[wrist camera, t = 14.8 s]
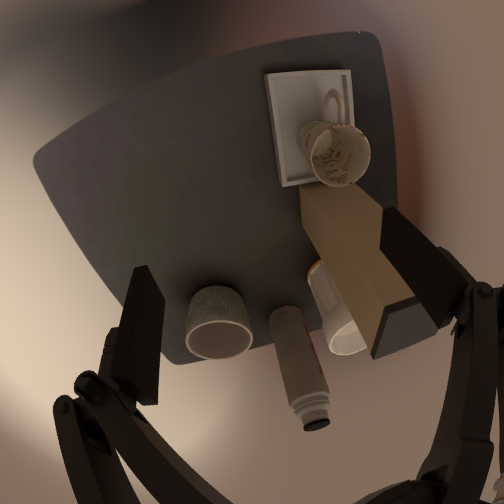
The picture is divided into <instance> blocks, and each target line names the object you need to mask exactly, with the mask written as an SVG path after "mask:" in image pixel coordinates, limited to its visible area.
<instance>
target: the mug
mask: <svg viewBox="0 0 504 504" xmlns="http://www.w3.org/2000/svg"><path fill="white" fill-rule="evenodd" d="M331 98H335V100H336V102H337V105H338V117H337V123H335V122H327V121H326V118H327V110H328V105H329V101H330V99H331ZM344 117H345V105H344V101H343V98H342V96H341V94H340V93H339V92H338V91H337V90H336V89H330V90H329V91H328V92H327V93H326V95H325V98H324V101H323V104H322V119H323V121H310V122H307V123H305V124H304V125H303V126H302V127H301V128H300V130H299V131H298V134H297V145H298V148H299V149H300V151H301V153H302V154H303V156H304V158H305V159H306V161H307V163H308V164H309V166H310V168H311V169H312V171H313V172H314V174H315V175H316V177H317V178H318V179H319V180H320V181H322V182H323V183H325V184H327V185H329V186H333V187H344V186H348V185H350V184H352V183H354V182H356V181H357V180H358V179H359V178H361V176H362V175H363V174H364V173H365V171H366V169H367V167H368V165H369V161H370V146H369V143H368V140H367V138H366V137H365V135H364V134H363V133H362V132H361V131H360V130H359V129H357V128H355V127H353V126H351V125H348V124H344Z"/></svg>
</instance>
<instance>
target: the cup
mask: <svg viewBox="0 0 504 504" xmlns="http://www.w3.org/2000/svg"><path fill="white" fill-rule="evenodd" d="M307 281H308V283H309V286H310V288H311V291H312V294H313V296H314V299H315V301H316V304H317V307H318V309H319V312H320V314H321V317H322V320H323V326H322V328H323V331H324V334H325V337H326V340H327V343H328V345H329V348H330V351H331V352H333V353H335V354H337V355H349V354H353V353H357V352H359V351H361V350H363V349H365V348H367V346H366V344H365V342H364V340H363V338H362V336H361V333H360V331H359V329H358V327H357V325H356V323H355V321H354V320H353V318H352V316H351V314H350V312H349V310H348V308H347V306H346V304H345V302H344V300H343V298H342V296H341V294H340V292H339V291H338V289H337V287H336V285H335V283H334V281H333V279H332V277H331V276H330V274H329V272H328V270H327V268H326V266H325V265H324V263H323V261H322V259H320V260H318V261H317V262H315V263H314V264H313V265H312V266H311V268H310V269H309V271H308V273H307Z"/></svg>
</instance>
